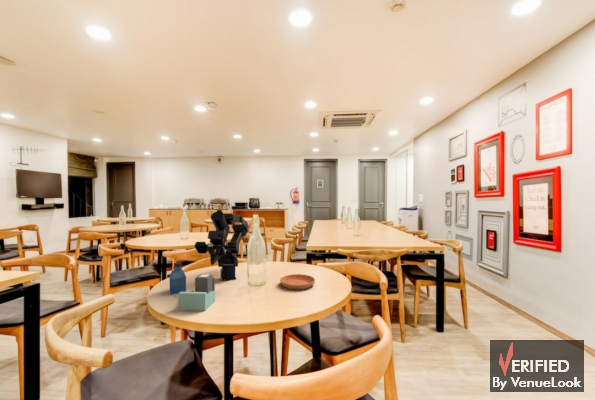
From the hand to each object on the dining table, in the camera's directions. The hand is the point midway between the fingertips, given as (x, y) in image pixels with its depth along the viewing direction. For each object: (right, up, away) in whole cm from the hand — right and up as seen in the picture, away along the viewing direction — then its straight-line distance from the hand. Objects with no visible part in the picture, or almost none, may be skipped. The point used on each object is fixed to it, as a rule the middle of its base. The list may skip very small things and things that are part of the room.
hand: (211, 264), depth 109 cm
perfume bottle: (-16, -12, +2) cm, 20 cm away
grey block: (0, -12, -7) cm, 14 cm away
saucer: (+36, -12, +10) cm, 39 cm away
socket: (-1, -12, -13) cm, 18 cm away
